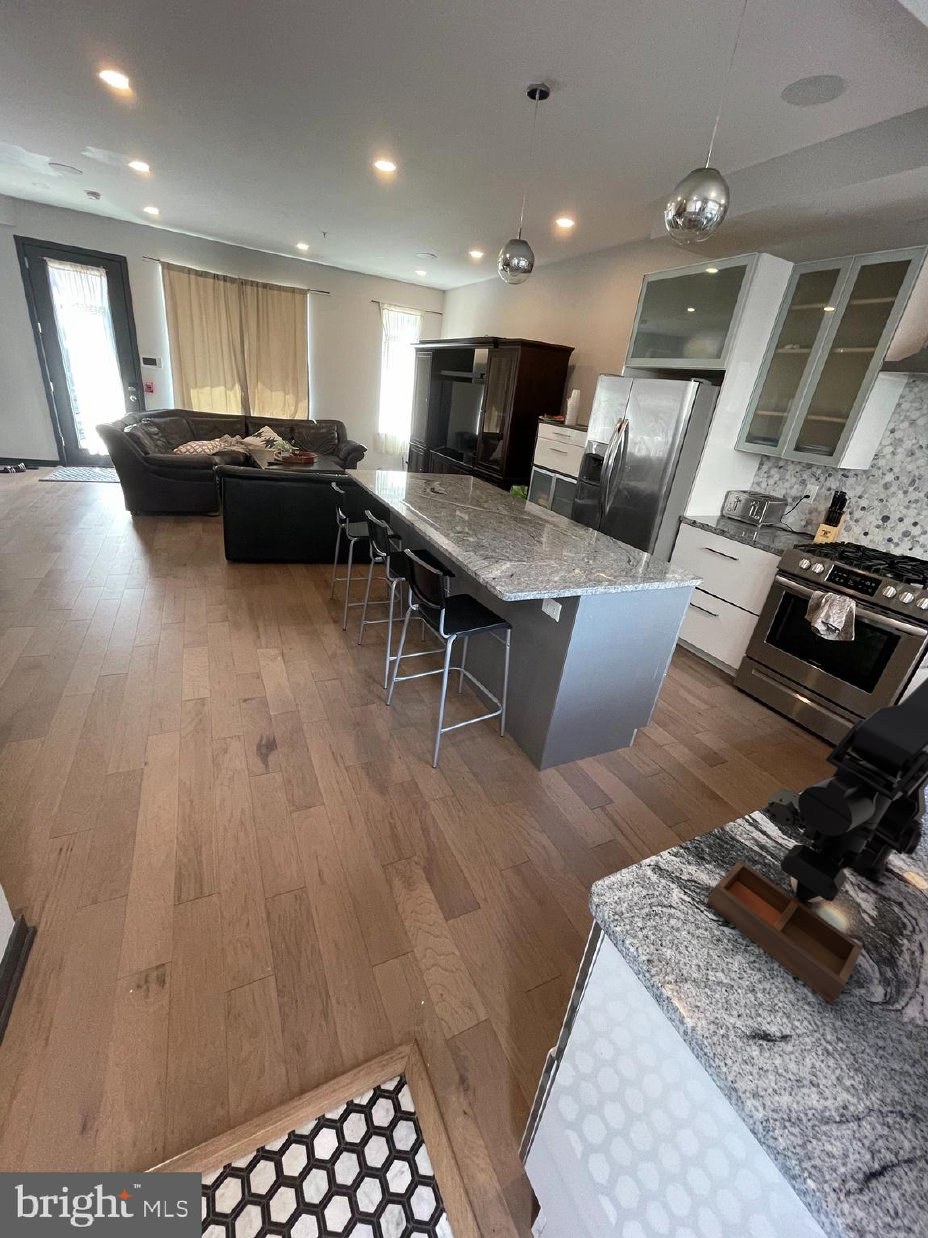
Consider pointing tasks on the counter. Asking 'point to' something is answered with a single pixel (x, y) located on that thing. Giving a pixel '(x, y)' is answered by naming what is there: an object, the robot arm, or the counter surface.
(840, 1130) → the counter surface
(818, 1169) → the counter surface
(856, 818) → the robot arm
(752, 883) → the egg rack
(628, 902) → the counter surface
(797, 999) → the counter surface
